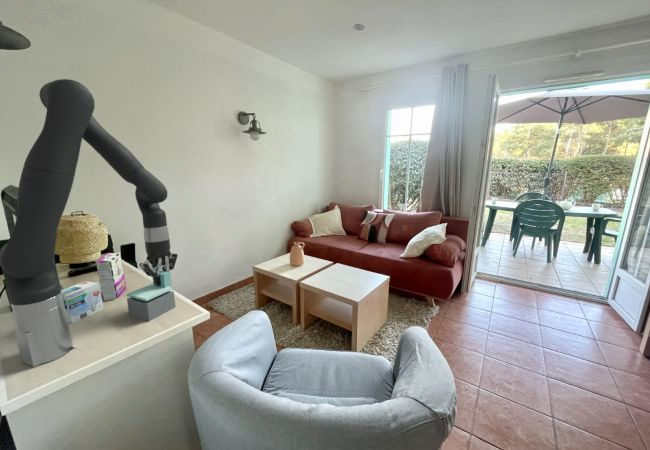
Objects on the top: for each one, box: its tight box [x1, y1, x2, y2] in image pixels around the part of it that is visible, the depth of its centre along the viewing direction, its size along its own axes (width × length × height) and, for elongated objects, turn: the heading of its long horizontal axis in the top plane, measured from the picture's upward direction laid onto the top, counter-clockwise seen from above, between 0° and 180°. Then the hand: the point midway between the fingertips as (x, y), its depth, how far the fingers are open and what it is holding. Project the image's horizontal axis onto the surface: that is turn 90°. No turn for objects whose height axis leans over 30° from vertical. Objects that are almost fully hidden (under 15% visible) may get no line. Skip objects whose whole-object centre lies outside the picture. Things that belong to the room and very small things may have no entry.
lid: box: [126, 269, 173, 301], centre depth 93 cm, size 11×10×7 cm
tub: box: [126, 290, 176, 322], centre depth 94 cm, size 10×10×7 cm
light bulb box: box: [61, 281, 104, 325], centre depth 91 cm, size 11×7×11 cm, turn 168°
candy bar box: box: [95, 252, 127, 302], centre depth 107 cm, size 11×5×16 cm, turn 22°
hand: (162, 283), depth 97 cm, fingers closed on lid, 2 cm apart
